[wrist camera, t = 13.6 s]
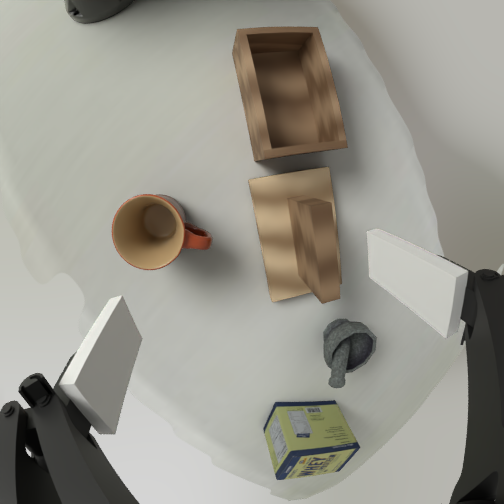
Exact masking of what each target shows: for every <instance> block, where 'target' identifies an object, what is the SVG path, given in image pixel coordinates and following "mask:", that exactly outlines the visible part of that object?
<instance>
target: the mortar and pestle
mask: <svg viewBox="0 0 504 504" xmlns="http://www.w3.org/2000/svg"><path fill="white" fill-rule="evenodd" d="M323 333H324V358H325V362H326V364H327V365H328V367H329V368H331V369H332V371H331V378H330V379H329V385H330V386H331V387H333V388H341V387H343V386H344V385H345V378H344V377H345V373H349V372H353V371H355V370H356V369H358V368H360V367H361V366H363V365H364V364H366V363H367V361H368V360H369V359H370V357H371V356H372V354H373V353H374V352H375V348H376V339H377V337H376V336H375V335H374V334H373V333H372V332H371V331H370V330H369V329H368V328H367V327H366V326H365V325H364V324H362V323H361V322H349V321H348V320H347V319H337V320H335V321H333V322H332V323H330V324H329V325H328V326H327V328H326V329H325V331H324V332H323Z"/></svg>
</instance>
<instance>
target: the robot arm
mask: <svg viewBox="0 0 504 504" xmlns="http://www.w3.org/2000/svg"><path fill="white" fill-rule="evenodd" d="M64 1H65V6H66V11H67V13H68V14H69V15H70V16H71V17H72V18H73V20H75V21H77V22H80V23H92V22H97V21H100V20H103V19H106V18H108V17H110V16H113V15H115V14H116V13H118V12H120V11H121V10H123V9H124V8H126V7H127V6H128V5H130V4H131V3H132V2H133V1H134V0H64ZM366 234H367V246H368V261H369V278H371V279H372V280H373V281H375V282H376V283H377V284H378V285H380V286H381V287H382V288H384V289H385V290H386V291H388V292H389V293H390V294H391V295H393V296H394V297H395V298H396V299H398V300H399V301H400V302H402V303H403V304H404V305H405V306H407V307H408V308H409V309H410V310H412V311H413V312H414V313H415V314H417V315H418V316H419V317H420V318H421V319H423V320H424V321H425V322H426V323H428V324H429V325H430V326H431V327H432V328H434V329H435V330H436V331H437V332H438V333H439V334H441V335H442V336H443V337H444V338H445V339H446V338H448V337H450V336H451V335H453V334H454V333H456V332H458V328H459V324H460V319H462V320H463V321H464V322H466V324H465V329H464V333H463V336H462V340H461V345H463V343H464V341H466V351H467V364H468V398H469V400H468V402H469V403H468V425H467V438H466V448H465V455H464V463H463V469H462V473H461V476H460V478H459V480H458V482H457V484H456V486H455V488H454V491H453V493H452V496H451V500H450V503H449V504H504V275H502V276H501V275H500V274H499V273H497V272H496V271H493V270H489V269H482V270H479V271H477V272H476V273H474V272H472V271H470V270H468V269H466V268H464V267H462V266H460V265H459V264H455V263H454V262H453V261H449V260H448V259H446V258H444V257H442V256H439V255H435V254H433V253H431V252H429V251H427V250H425V249H423V248H421V247H419V246H416V245H414V244H412V243H410V242H408V241H406V240H403V239H401V238H399V237H397V236H394V235H392V234H390V233H388V232H385V231H383V230H381V229H378V228H377V229H373V230H370V231H366ZM141 341H142V337H141V335H140V333H139V331H138V329H137V327H136V325H135V322H134V320H133V318H132V316H131V314H130V312H129V309H128V307H127V305H126V303H125V300H124V298H123V296H118V297H114V298H110V300H109V301H108V303H107V304H106V306H105V307H104V309H103V310H102V312H101V313H100V315H99V316H98V318H97V320H96V321H95V323H94V324H93V326H92V327H91V329H90V331H89V332H88V334H87V336H86V337H85V339H84V341H83V342H82V344H81V346H80V347H79V349H78V351H77V352H76V353H75V354H74V355H73V356H72V357H71V358H70V359H69V361H68V363H67V366H66V367H65V368H64V370H63V372H62V374H61V375H60V377H59V379H58V381H57V383H56V384H55V386H54V389H52V387H51V386H50V385H49V383H48V382H47V380H46V379H45V377H44V376H43V375H42V374H40V373H35V374H33V375H30V376H29V377H27V378H26V379H25V380H24V381H23V382H22V383H21V385H20V387H19V393H20V394H21V396H22V397H23V398H24V399H25V401H26V402H27V403H28V404H29V406H30V407H31V408H27V409H23V408H22V407H21V405H20V404H19V403H18V402H17V401H10V402H9V403H6V404H5V405H4V406H3V408H2V409H1V411H0V504H139V503H138V501H137V500H136V499H135V498H134V496H133V495H132V494H131V492H130V491H129V490H128V488H127V487H126V486H125V484H124V483H123V482H122V481H121V479H120V477H119V476H118V475H117V474H116V472H115V470H114V469H113V467H112V466H111V464H110V463H109V461H108V460H107V458H106V456H105V455H104V453H103V452H102V450H101V448H100V447H99V445H98V443H97V442H96V440H95V438H94V437H93V436H92V435H91V434H90V433H89V430H90V427H91V425H92V426H93V427H94V429H95V430H96V431H97V432H98V433H99V434H115V433H116V429H117V425H118V421H119V417H120V413H121V409H122V405H123V402H124V398H125V394H126V391H127V387H128V384H129V380H130V377H131V373H132V370H133V367H134V364H135V360H136V357H137V354H138V351H139V348H140V345H141ZM25 447H26V448H27V449H28V450H29V451H30V452H31V457H30V456H29V455H28V454H27V452H26V448H25Z"/></svg>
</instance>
